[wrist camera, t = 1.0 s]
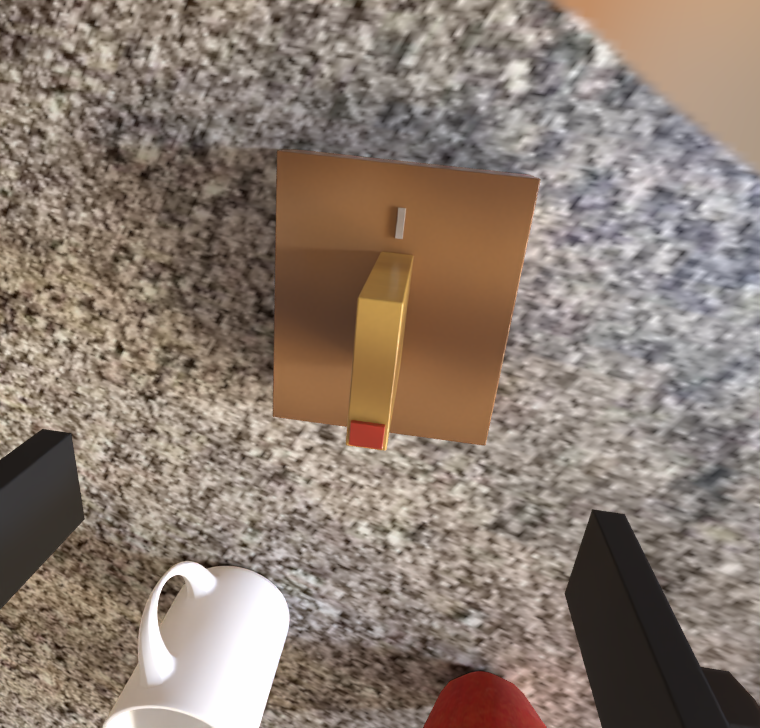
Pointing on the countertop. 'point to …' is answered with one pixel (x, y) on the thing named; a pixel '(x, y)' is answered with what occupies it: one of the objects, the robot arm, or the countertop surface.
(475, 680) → the apple
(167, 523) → the countertop surface
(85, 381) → the countertop surface
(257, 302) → the countertop surface
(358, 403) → the thumbturn
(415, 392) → the plate
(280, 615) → the mug
